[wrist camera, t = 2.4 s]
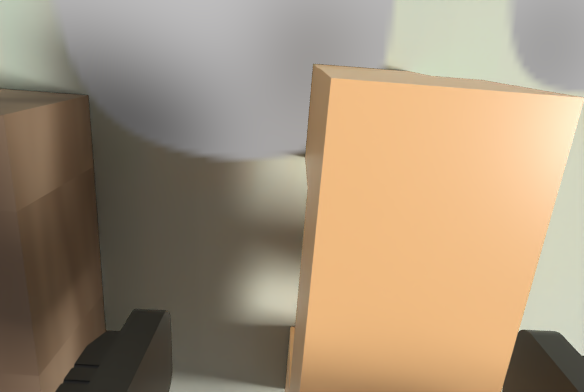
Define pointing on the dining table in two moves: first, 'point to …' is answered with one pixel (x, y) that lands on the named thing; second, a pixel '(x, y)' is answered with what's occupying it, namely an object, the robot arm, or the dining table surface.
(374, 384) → the tan u-shaped block
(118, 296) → the dining table surface
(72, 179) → the brown slotted wooden block
